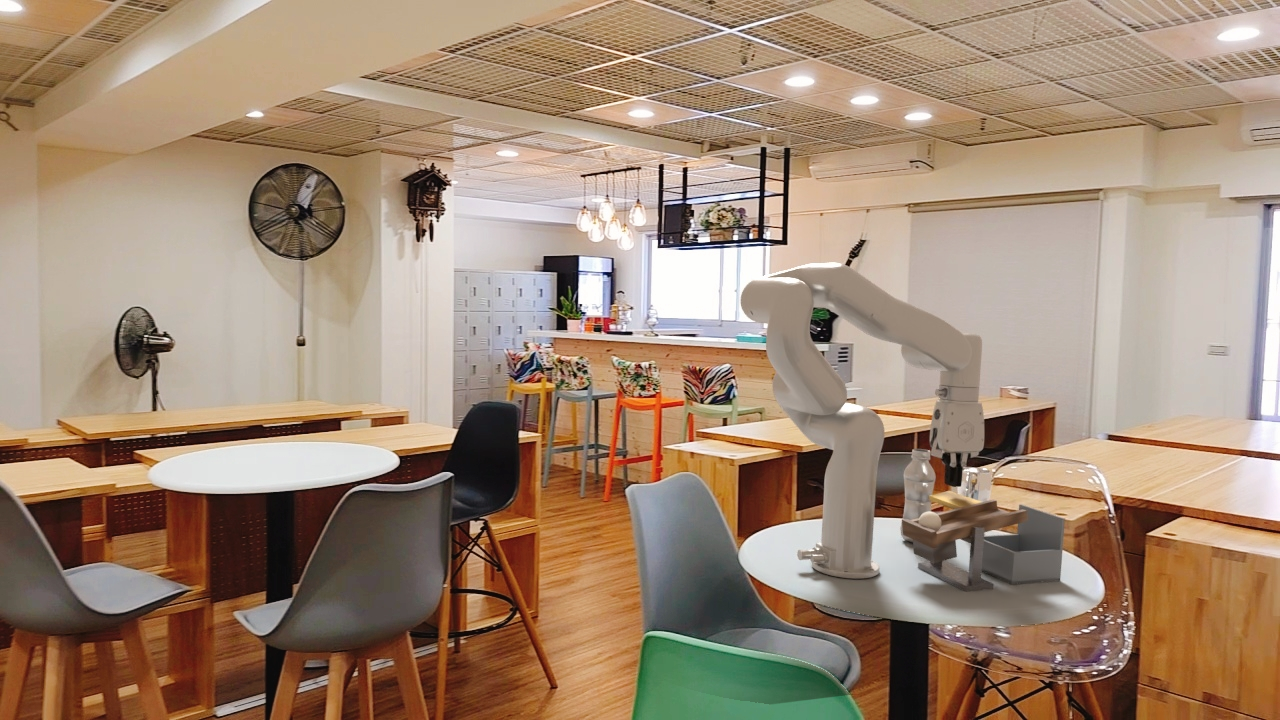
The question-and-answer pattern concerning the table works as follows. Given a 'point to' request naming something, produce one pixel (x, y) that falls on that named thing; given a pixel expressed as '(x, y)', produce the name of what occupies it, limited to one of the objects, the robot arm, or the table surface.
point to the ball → (930, 520)
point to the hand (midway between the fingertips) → (952, 485)
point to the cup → (1027, 550)
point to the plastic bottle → (918, 486)
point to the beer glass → (976, 484)
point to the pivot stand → (958, 575)
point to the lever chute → (957, 525)
